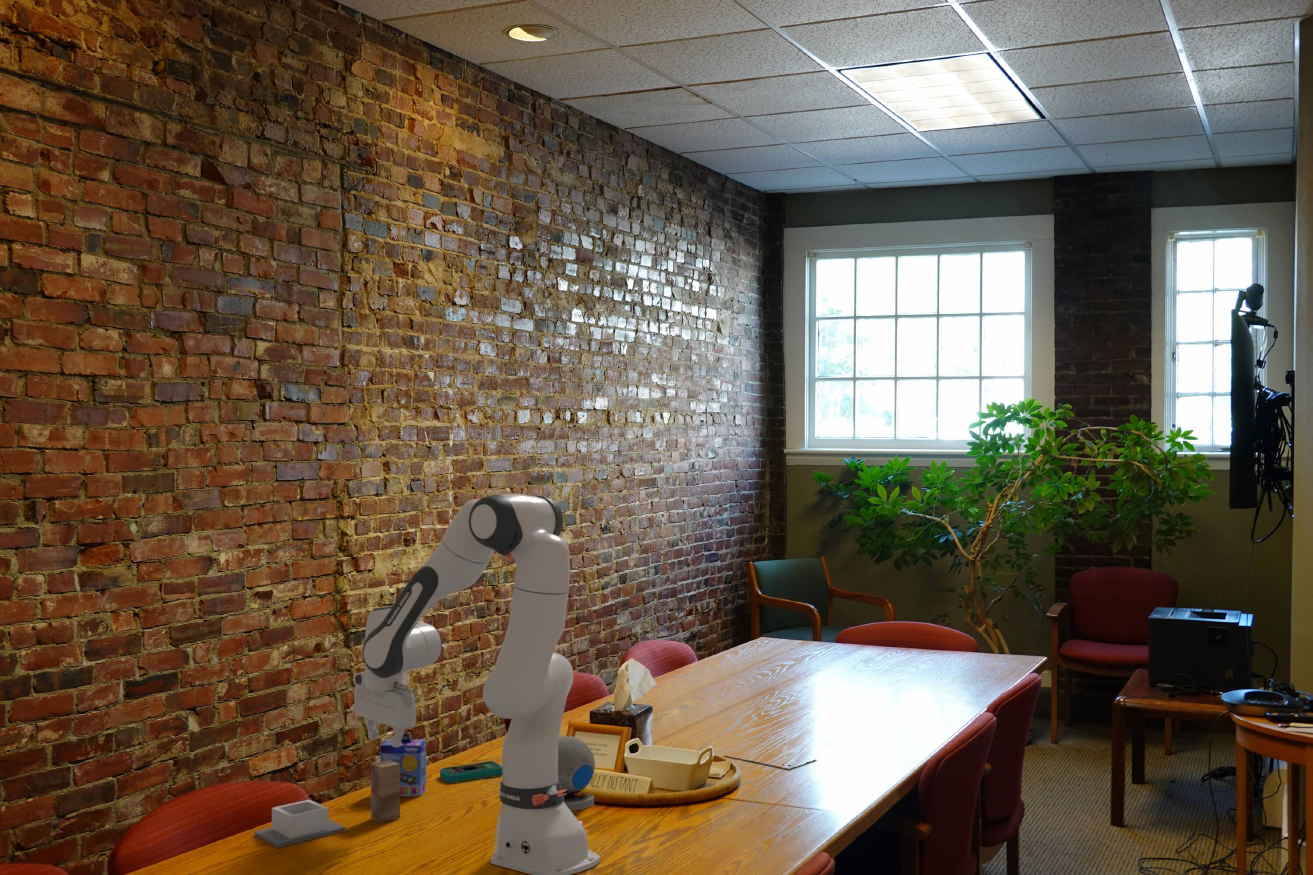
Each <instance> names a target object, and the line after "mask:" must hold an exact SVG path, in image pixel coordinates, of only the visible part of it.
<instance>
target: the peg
mask: <svg viewBox="0 0 1313 875" xmlns="http://www.w3.org/2000/svg"><path fill="white" fill-rule="evenodd" d="M370 793H371V794H370V819H371V818H372V819H371V820H373V819H374V821H375V820H376V821H375V822H377V821H379V822H378V823H380V822H385V823H388V822H387V821H389V822H391V821H390V820H393V821H395V820H394V819H397V818H400V819H401V796H400V764H399V763H396V762H394V761H391V760H387V761H382V762H380V761H379V762H373V763H370ZM397 820H398V819H397Z"/></svg>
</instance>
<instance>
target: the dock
mask: <svg viewBox="0 0 1313 875" xmlns="http://www.w3.org/2000/svg"><path fill="white" fill-rule="evenodd" d="M346 829H347V828H346V827H345V826H344V825H341V824H339V823H337V822H335V821H332V820H330V817H329V807H327V806H325V805H323V804H320V803H318V802H316V801H313V800H311V799H306V800H302V801H297V802H293V803H292V802H291V803H287V804H284V805H278V806H275V807H272V808H271V827H269V828H268V827H267V828H263V829H259V830H255V831H253V832H254V836H255V837H257V838H259V839H261V840H262V841H264V842H267V843H268V844H270V845H272V846H274V847H276V848H277V849H279V848H283V847H287V846H291V845H297V844H299V843H303V842H308V841H311V840H316V839H319V838H323V837H328V836H332V835H335V834H334V833H336V834H339V833H338V832H340V833H342V832H341V831H344V830H345V831H346ZM345 831H344V832H345ZM331 834H332V835H331Z"/></svg>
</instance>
